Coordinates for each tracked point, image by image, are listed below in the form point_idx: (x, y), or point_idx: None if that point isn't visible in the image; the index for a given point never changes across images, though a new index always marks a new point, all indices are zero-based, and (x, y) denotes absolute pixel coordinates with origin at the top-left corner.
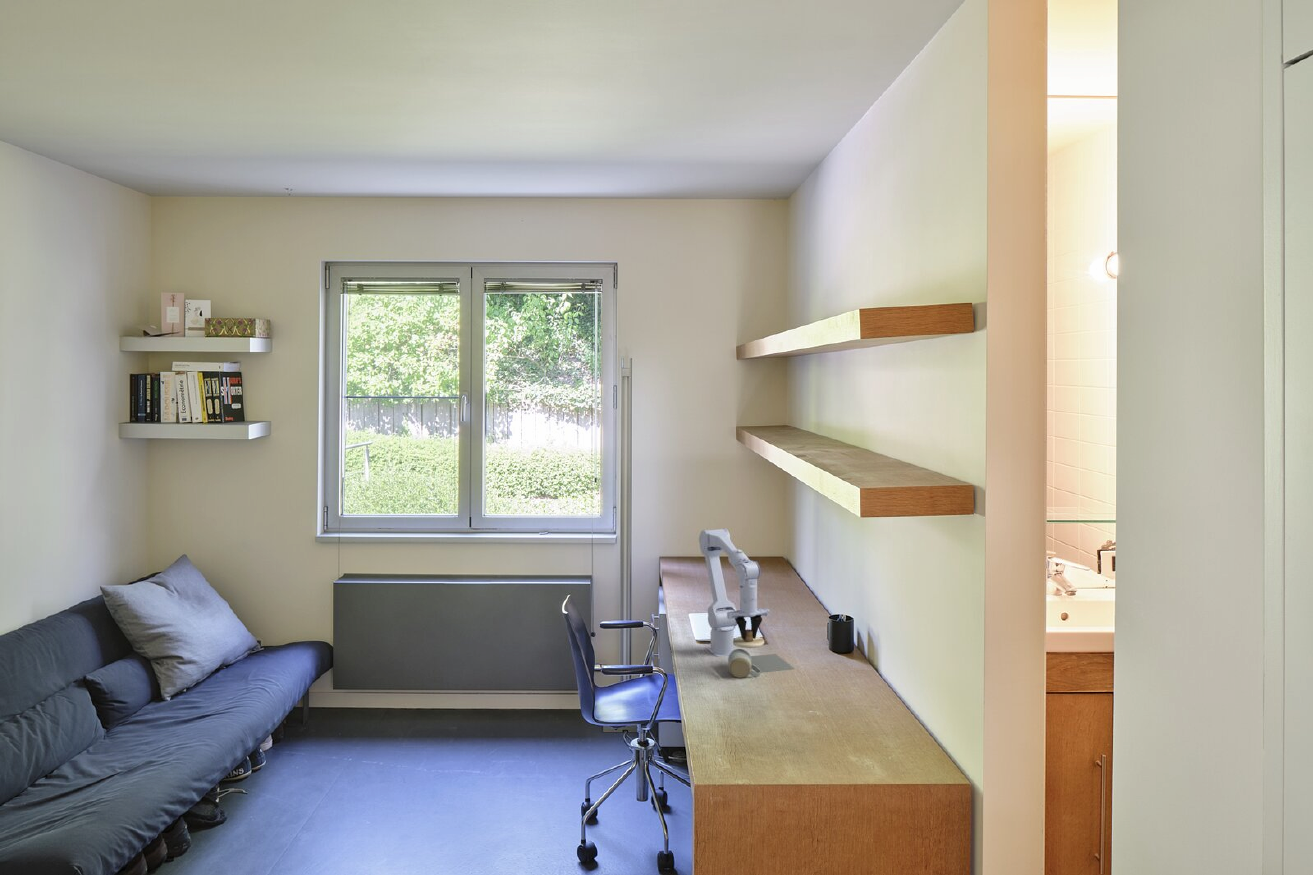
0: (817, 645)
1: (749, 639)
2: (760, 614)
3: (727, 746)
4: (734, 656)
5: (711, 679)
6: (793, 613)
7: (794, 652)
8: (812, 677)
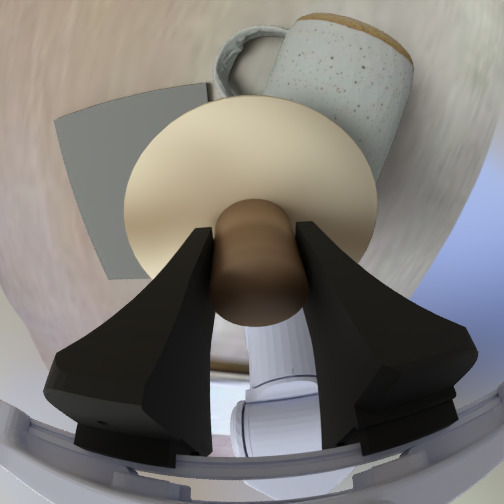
0: (22, 306)
1: (260, 211)
2: (82, 455)
3: None
4: (401, 91)
5: (440, 95)
6: None
7: (59, 282)
8: (24, 44)
